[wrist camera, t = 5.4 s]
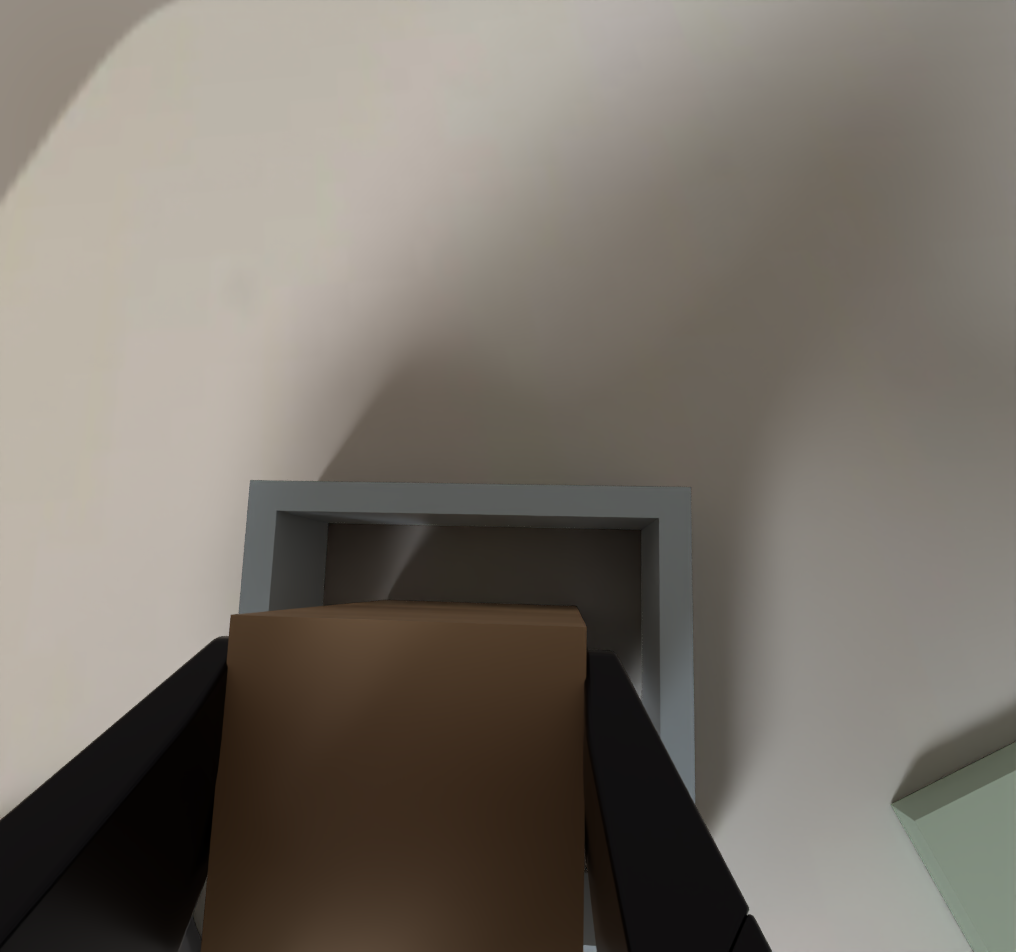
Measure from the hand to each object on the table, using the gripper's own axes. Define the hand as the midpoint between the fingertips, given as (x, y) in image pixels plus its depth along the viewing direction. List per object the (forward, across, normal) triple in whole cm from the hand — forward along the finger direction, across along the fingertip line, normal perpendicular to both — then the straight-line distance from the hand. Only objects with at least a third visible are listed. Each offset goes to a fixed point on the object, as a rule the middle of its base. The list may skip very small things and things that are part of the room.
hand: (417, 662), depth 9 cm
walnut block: (+4, 0, +6) cm, 7 cm away
